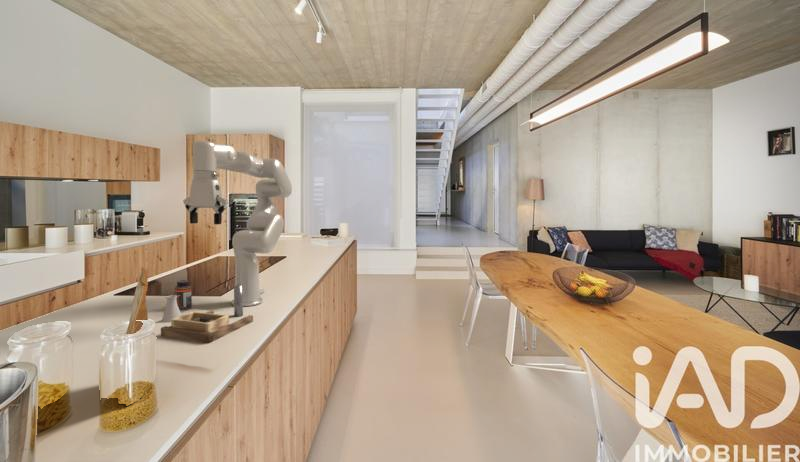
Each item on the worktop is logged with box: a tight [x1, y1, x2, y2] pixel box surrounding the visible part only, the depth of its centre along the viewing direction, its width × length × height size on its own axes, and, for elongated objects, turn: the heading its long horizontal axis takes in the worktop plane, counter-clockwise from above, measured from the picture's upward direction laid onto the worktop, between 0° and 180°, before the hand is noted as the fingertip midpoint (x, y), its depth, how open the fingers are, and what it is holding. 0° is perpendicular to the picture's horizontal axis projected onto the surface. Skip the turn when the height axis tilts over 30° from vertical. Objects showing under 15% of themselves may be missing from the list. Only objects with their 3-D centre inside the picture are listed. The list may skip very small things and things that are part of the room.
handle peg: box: [233, 284, 244, 318], centre depth 138 cm, size 3×3×13 cm
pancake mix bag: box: [125, 266, 149, 335], centre depth 86 cm, size 7×19×28 cm, turn 27°
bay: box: [160, 310, 254, 344], centre depth 124 cm, size 21×18×4 cm
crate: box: [170, 310, 230, 332], centre depth 120 cm, size 9×14×5 cm, turn 76°
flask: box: [161, 294, 183, 323], centre depth 132 cm, size 7×7×10 cm
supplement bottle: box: [174, 279, 193, 311], centre depth 150 cm, size 6×6×11 cm
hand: (205, 223), depth 134 cm, fingers open, 9 cm apart
